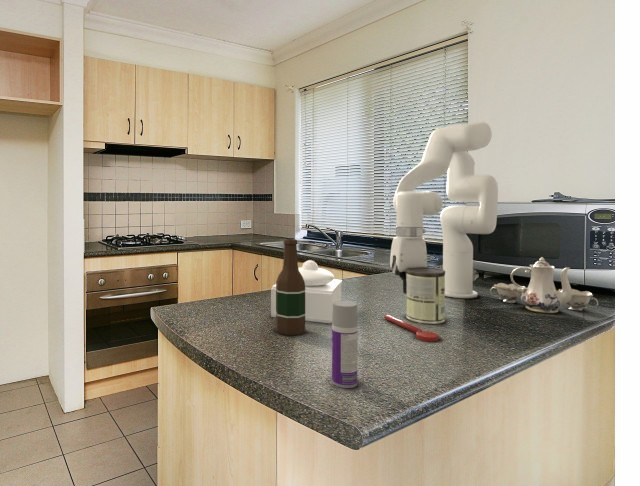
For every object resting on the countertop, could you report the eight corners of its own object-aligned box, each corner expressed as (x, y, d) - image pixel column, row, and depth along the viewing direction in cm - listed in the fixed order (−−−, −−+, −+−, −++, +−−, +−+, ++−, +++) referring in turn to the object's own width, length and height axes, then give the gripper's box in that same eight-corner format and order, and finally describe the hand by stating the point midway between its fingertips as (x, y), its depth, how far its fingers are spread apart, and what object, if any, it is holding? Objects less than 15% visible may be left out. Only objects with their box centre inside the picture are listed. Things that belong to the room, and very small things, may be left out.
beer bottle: (308, 328, 116) (308, 238, 115) (302, 337, 108) (302, 241, 108) (279, 325, 118) (279, 237, 118) (272, 334, 111) (272, 240, 111)
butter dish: (271, 316, 127) (271, 262, 127) (287, 302, 143) (288, 254, 143) (331, 323, 120) (331, 266, 120) (342, 307, 137) (342, 257, 137)
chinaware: (591, 312, 137) (590, 259, 138) (605, 319, 123) (604, 260, 124) (489, 302, 150) (489, 253, 152) (491, 308, 136) (491, 254, 137)
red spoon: (378, 319, 124) (378, 314, 124) (393, 318, 125) (393, 313, 125) (425, 342, 105) (425, 336, 105) (442, 340, 106) (443, 334, 106)
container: (328, 378, 84) (328, 300, 84) (352, 377, 85) (352, 300, 84) (336, 388, 80) (336, 307, 79) (361, 387, 80) (361, 306, 80)
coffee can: (404, 312, 131) (405, 266, 131) (442, 315, 128) (442, 267, 127) (406, 322, 121) (407, 271, 121) (447, 325, 118) (447, 273, 118)
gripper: (422, 231, 136) (421, 290, 136) (380, 232, 132) (379, 292, 132) (439, 233, 129) (438, 295, 129) (395, 234, 125) (394, 298, 125)
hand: (408, 293), depth 131 cm, fingers closed
